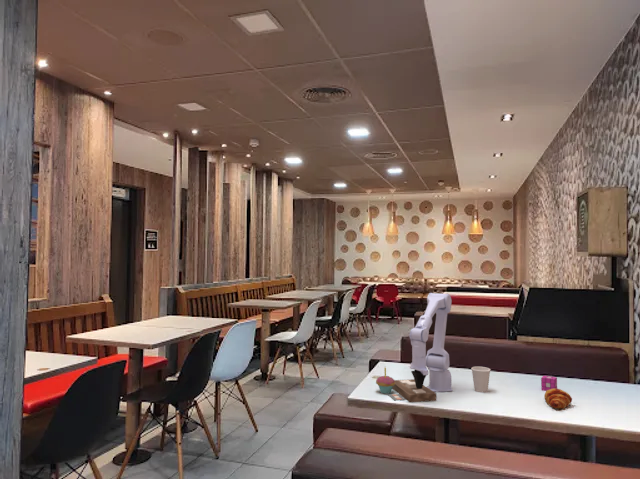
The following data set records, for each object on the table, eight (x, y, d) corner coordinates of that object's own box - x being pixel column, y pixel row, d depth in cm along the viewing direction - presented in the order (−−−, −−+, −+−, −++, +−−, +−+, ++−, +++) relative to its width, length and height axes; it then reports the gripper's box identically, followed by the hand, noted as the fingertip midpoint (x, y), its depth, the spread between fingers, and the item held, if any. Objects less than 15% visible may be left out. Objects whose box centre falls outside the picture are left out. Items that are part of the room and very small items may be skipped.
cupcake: (394, 395, 201) (394, 367, 201) (375, 394, 202) (375, 366, 203) (395, 390, 209) (395, 363, 210) (376, 389, 211) (376, 362, 211)
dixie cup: (480, 394, 204) (480, 371, 204) (467, 389, 211) (467, 367, 212) (494, 392, 207) (494, 369, 207) (481, 387, 214) (481, 365, 215)
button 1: (408, 386, 214) (408, 380, 214) (411, 389, 210) (411, 382, 210) (399, 386, 213) (399, 380, 214) (402, 389, 209) (402, 382, 209)
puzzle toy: (541, 390, 210) (541, 377, 211) (543, 387, 215) (543, 375, 215) (555, 392, 207) (554, 379, 207) (557, 389, 212) (557, 377, 212)
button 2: (421, 396, 199) (421, 389, 199) (426, 399, 194) (426, 392, 194) (412, 396, 198) (412, 389, 198) (416, 399, 193) (416, 392, 194)
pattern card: (399, 394, 202) (399, 393, 202) (405, 400, 194) (405, 399, 194) (388, 395, 201) (388, 394, 201) (394, 400, 193) (394, 399, 193)
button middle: (414, 388, 206) (414, 381, 207) (418, 391, 202) (418, 384, 202) (405, 388, 206) (405, 382, 206) (409, 391, 201) (409, 384, 202)
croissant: (551, 404, 200) (541, 387, 202) (574, 396, 196) (563, 378, 199) (549, 418, 181) (538, 398, 184) (575, 409, 178) (563, 389, 180)
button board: (414, 385, 217) (414, 379, 217) (436, 400, 193) (436, 393, 193) (390, 386, 214) (390, 380, 215) (409, 402, 191) (409, 394, 191)
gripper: (404, 353, 203) (404, 384, 203) (416, 360, 189) (417, 393, 188) (418, 352, 205) (419, 383, 204) (432, 359, 190) (433, 392, 190)
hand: (419, 388), depth 196 cm, fingers closed
